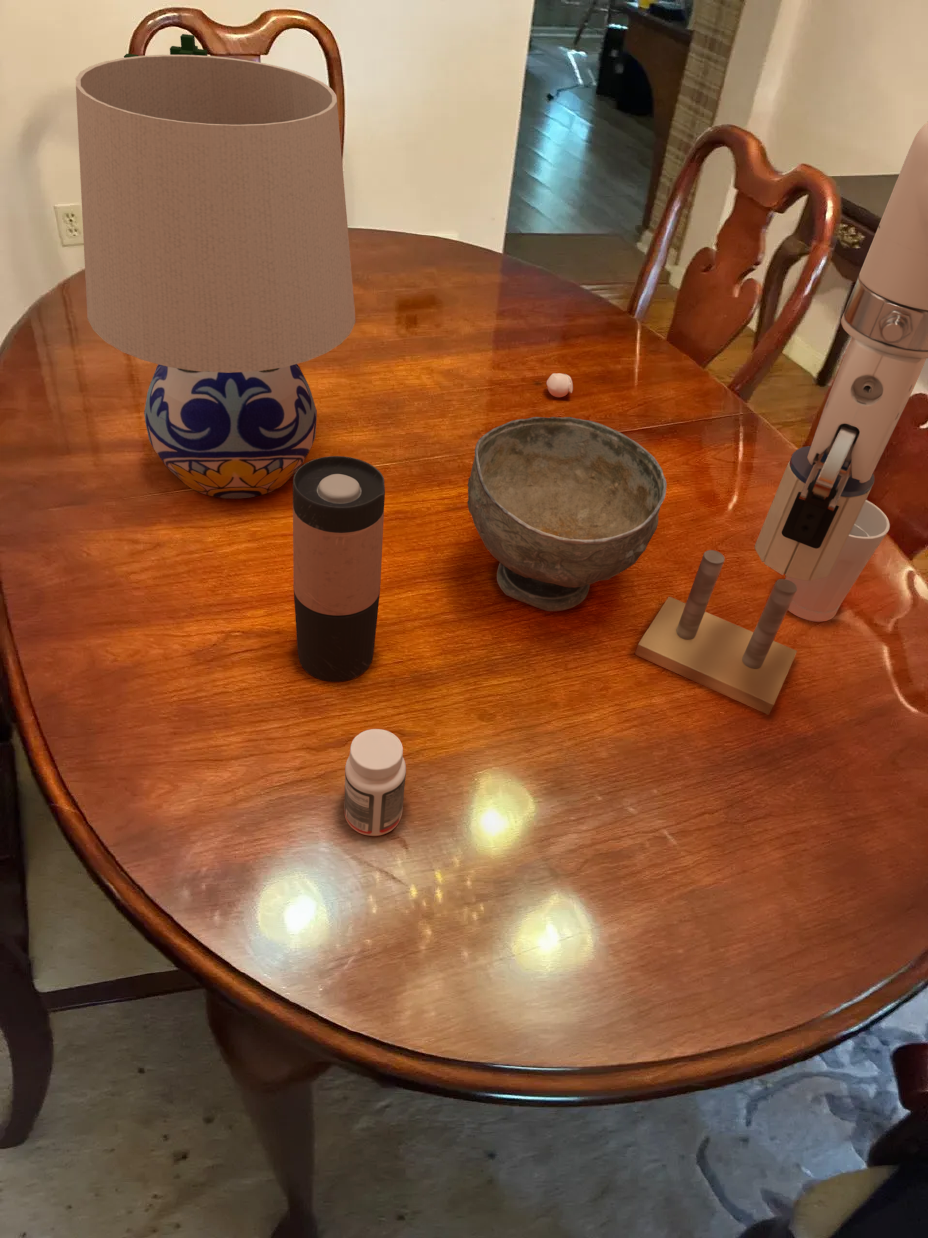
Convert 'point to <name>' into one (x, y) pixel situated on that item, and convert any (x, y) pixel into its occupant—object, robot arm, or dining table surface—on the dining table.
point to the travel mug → (337, 564)
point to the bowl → (562, 506)
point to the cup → (841, 568)
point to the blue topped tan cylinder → (798, 556)
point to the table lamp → (216, 253)
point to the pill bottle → (374, 782)
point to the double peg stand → (722, 642)
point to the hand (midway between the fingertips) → (811, 516)
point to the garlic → (559, 384)
